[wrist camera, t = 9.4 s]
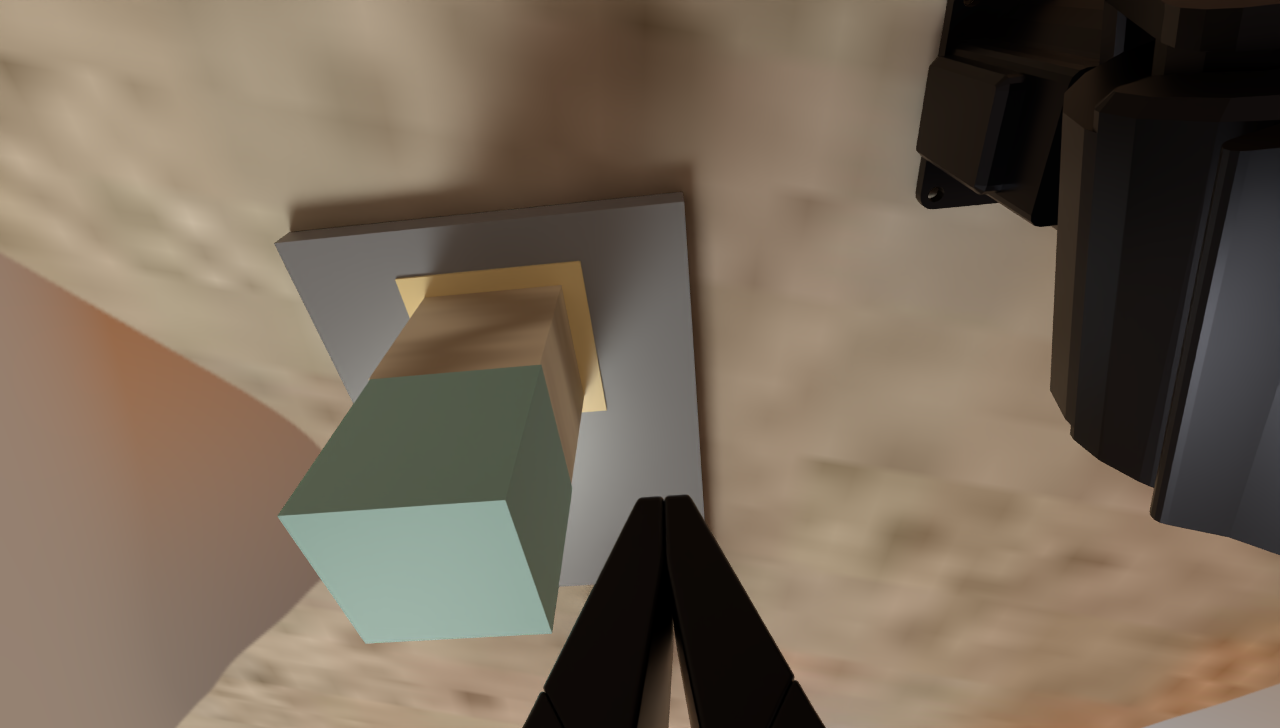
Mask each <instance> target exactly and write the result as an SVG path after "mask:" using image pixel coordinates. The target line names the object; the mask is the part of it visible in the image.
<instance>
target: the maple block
mask: <svg viewBox="0 0 1280 728" xmlns="http://www.w3.org/2000/svg"><path fill="white" fill-rule="evenodd" d="M530 365H542V369H543V373H544V377H545V381H546V385H547V389H548V393H549V397H550V401H551V405H552V409H553V413H554V417H555V421H556V425H557V429H558V433H559V437H560V441H561V445H562V449H563V453H564V457H565V461H566V465H567V469H568V473H569V477H570V481H571V484H572V477H573V470H574V463H575V456H576V449H577V442H578V436H579V429H580V422H581V415H582V408H583V401H584V393H583V388H582V384H581V379H580V374H579V369H578V364H577V359H576V354H575V349H574V344H573V339H572V334H571V330H570V325H569V320H568V315H567V310H566V305H565V300H564V295H563V290H562V285H555V286H544V287H533V288H523V289H512V290H501V291H490V292H480V293H469V294H458V295H448V296H437V297H426V298H424V299H423V300H422V302H421V303H420V305H419V306H418V308H417V309H416V310H415V312H414V313H413V315H412V316H411V318H410V319H409V321H408V322H407V324H406V325H405V327H404V328H403V329H402V331H401V332H400V334H399V335H398V337H397V338H396V340H395V341H394V343H393V344H392V346H391V347H390V349H389V350H388V351H387V353H386V354H385V356H384V357H383V359H382V360H381V362H380V363H379V365H378V366H377V368H376V369H375V370H374V372H373V373H372V375H371V376H370V378H369V379H368V380H370V379H380V378H392V377H403V376H415V375H426V374H438V373H449V372H461V371H472V370H484V369H496V368H507V367H519V366H530Z"/></svg>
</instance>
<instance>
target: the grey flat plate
mask: <svg viewBox="0 0 1280 728" xmlns="http://www.w3.org/2000/svg"><path fill="white" fill-rule="evenodd" d="M274 244H275V246H276V248H277V250H278V252H279V254H280V256H281V258H282V260H283V262H284V264H285V266H286V268H287V270H288V272H289V274H290V277H291V279H292V281H293V283H294V285H295V287H296V289H297V291H298V293H299V295H300V297H301V299H302V301H303V303H304V305H305V307H306V309H307V311H308V313H309V315H310V317H311V319H312V321H313V323H314V325H315V327H316V329H317V331H318V333H319V335H320V337H321V339H322V341H323V343H324V345H325V347H326V349H327V351H328V353H329V355H330V357H331V359H332V361H333V363H334V365H335V367H336V369H337V371H338V374H339V376H340V378H341V380H342V382H343V384H344V386H345V388H346V390H347V392H348V394H349V396H350V398H351V400H352V402H353V404H354V402H355V401H356V399H357V398H358V397H359V395H360V394H361V392H362V391H363V389H364V388H365V386H366V385H367V383H368V382H369V380H368V379H369V378H370V376H371V375H372V373H373V372H374V370H375V369H376V368H377V366H378V365H379V363H380V362H381V360H382V359H383V357H384V356H385V354H386V353H387V351H388V350H389V349H390V347H391V346H392V344H393V343H394V341H395V340H396V338H397V337H398V335H399V334H400V332H401V331H402V329H403V328H404V327H405V325H406V324H407V322H408V321H409V319H410V318H411V316H412V315H413V313H414V312H415V310H416V309H417V308H418V306H419V305H420V303H421V302H422V300H423V299H424V298H426V297H437V296H448V295H458V294H469V293H480V292H490V291H501V290H512V289H523V288H533V287H544V286H555V285H562V290H563V295H564V300H565V305H566V310H567V315H568V320H569V325H570V330H571V334H572V339H573V344H574V349H575V354H576V359H577V364H578V369H579V374H580V379H581V384H582V388H583V393H584V401H583V408H582V415H581V422H580V429H579V436H578V442H577V449H576V456H575V463H574V470H573V477H572V484H571V485H572V496H571V503H570V510H569V517H568V524H567V531H566V538H565V545H564V553H563V560H562V567H561V574H560V581H559V587H560V586H577V585H594V584H595V583H596V581H597V579H598V577H599V575H600V573H601V571H602V569H603V567H604V565H605V563H606V561H607V559H608V557H609V555H610V553H611V551H612V549H613V547H614V545H615V543H616V541H617V539H618V537H619V535H620V533H621V531H622V529H623V527H624V525H625V523H626V521H627V519H628V517H629V515H630V513H631V511H632V509H633V507H634V505H635V503H636V501H637V500H638V499H639V498H641V497H653V496H661V497H662V498H663V499H665V497H666V496H668V495H682V494H687V495H689V496H690V497H691V498H692V500H693V501H694V503H695V505H696V506H697V508H698V510H699V512H700V513H701V515H702V517H703V519H704V504H703V489H702V473H701V457H700V442H699V426H698V410H697V395H696V379H695V363H694V348H693V332H692V317H691V301H690V285H689V270H688V254H687V238H686V223H685V207H684V198H683V192H676V193H666V194H657V195H647V196H637V197H628V198H618V199H608V200H598V201H589V202H579V203H569V204H560V205H550V206H540V207H530V208H521V209H511V210H501V211H492V212H482V213H472V214H462V215H453V216H443V217H433V218H424V219H414V220H404V221H394V222H385V223H375V224H365V225H356V226H346V227H336V228H326V229H317V230H307V231H297V232H289V233H288V234H286V235H285V236H283V237H282V238H281V239H279V240H278V241H277V242H275V243H274Z"/></svg>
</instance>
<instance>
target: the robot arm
mask: <svg viewBox="0 0 1280 728" xmlns="http://www.w3.org/2000/svg"><path fill="white" fill-rule="evenodd" d="M916 150H917V152H918V153H919V154H920V155H921V156H922V157H921V163H920V169H919V175H918V181H917V187H916V199H917V200H918V202H919V203H920V204H921V205H923V206H924V207H926V208H927V209H940V208H951V207H961V206H971V205H981V204H991V203H1000V204H1002V205H1003V206H1005V207H1006V208H1008V209H1009V210H1011V211H1013V212H1014V213H1016V214H1017V215H1019V216H1020V217H1022V218H1023V219H1025V220H1026V221H1028V222H1029V223H1031V224H1033V225H1034V226H1039V227H1044V226H1052V227H1053V228H1055V229H1056V230H1057V249H1056V271H1055V293H1054V315H1053V337H1052V359H1051V381H1050V391H1051V393H1052V395H1053V397H1054V398H1055V400H1056V402H1057V404H1058V406H1059V408H1060V410H1061V412H1062V414H1063V416H1064V418H1065V419H1066V420H1067V421H1068V422H1069V423H1070V425H1071V430H1070V435H1071V436H1072V438H1073V439H1074V440H1075V441H1076V442H1077V443H1078V444H1080V445H1081V446H1082V447H1083V448H1085V449H1086V450H1087V451H1088V452H1090V453H1091V454H1092V455H1093V456H1095V457H1096V458H1097V459H1098V460H1100V461H1102V462H1103V463H1105V464H1107V465H1109V466H1111V467H1113V468H1115V469H1116V470H1118V471H1120V472H1122V473H1124V474H1126V475H1127V476H1129V477H1131V478H1133V479H1135V480H1137V481H1139V482H1141V483H1143V484H1146V485H1148V486H1150V487H1153V488H1154V491H1153V496H1152V502H1151V507H1150V515H1151V517H1152V518H1153V519H1154V520H1156V521H1158V522H1160V523H1163V524H1167V525H1172V526H1177V527H1182V528H1186V529H1191V530H1196V531H1201V532H1206V533H1211V534H1216V535H1220V536H1225V537H1230V538H1233V539H1235V540H1238V541H1241V542H1244V543H1247V544H1250V545H1252V546H1255V547H1258V548H1261V549H1264V550H1267V551H1270V552H1272V553H1275V554H1278V555H1280V0H973V1H972V3H971V4H970V5H968V6H965V4H964V2H963V0H947V6H946V12H945V19H944V25H943V31H942V37H941V43H940V49H939V55H938V57H937V58H936V59H935V60H934V61H933V63H932V64H931V65H930V66H929V71H928V77H927V83H926V90H925V96H924V102H923V109H922V115H921V121H920V127H919V134H918V140H917V146H916ZM935 187H939V191H938V193H937V194H936V195H935V196H934V197H932V198H928V194H929V192H930V190H932V189H933V188H935ZM673 624H674V632H675V639H676V645H677V652H678V657H679V663H680V669H681V674H682V680H683V686H684V691H685V697H686V702H687V708H688V714H689V719H690V725H691V728H826V727H825V726H824V724H823V723H822V721H821V719H820V718H819V716H818V714H817V713H816V711H815V710H814V708H813V706H812V705H811V703H810V701H809V699H808V698H807V696H806V694H805V693H804V691H803V689H802V687H801V686H800V684H799V682H798V681H796V680H794V674H793V672H792V671H791V669H790V667H789V665H788V664H787V662H786V660H785V659H784V657H783V655H782V653H781V652H780V650H779V648H778V646H777V645H776V643H775V641H774V640H773V638H772V636H771V634H770V633H769V631H768V629H767V627H766V626H765V624H764V622H763V621H762V619H761V617H760V615H759V614H758V612H757V610H756V608H755V607H754V605H753V603H752V602H751V600H750V598H749V596H748V595H747V593H746V591H745V589H744V588H743V586H742V584H741V583H740V581H739V579H738V577H737V576H736V574H735V572H734V570H733V569H732V567H731V565H730V563H729V562H728V560H727V558H726V557H725V555H724V553H723V551H722V550H721V548H720V546H719V544H718V543H717V541H716V539H715V538H714V536H713V534H712V532H711V531H710V529H709V527H708V525H707V524H706V522H705V520H704V519H703V517H702V515H701V513H700V512H699V510H698V508H697V506H696V505H695V503H694V501H693V500H692V498H691V497H690V496H689V495H687V494H682V495H668V496H666V497H665V499H663V498H662V497H661V496H653V497H641V498H639V499H638V500H637V501H636V503H635V505H634V507H633V509H632V511H631V513H630V515H629V517H628V519H627V521H626V523H625V525H624V527H623V529H622V531H621V533H620V535H619V537H618V539H617V541H616V543H615V545H614V547H613V549H612V551H611V553H610V555H609V557H608V559H607V561H606V563H605V565H604V567H603V569H602V571H601V573H600V575H599V577H598V579H597V581H596V583H595V585H594V587H593V589H592V591H591V593H590V595H589V597H588V599H587V601H586V603H585V605H584V607H583V609H582V611H581V613H580V615H579V617H578V619H577V621H576V623H575V625H574V627H573V629H572V631H571V633H570V635H569V637H568V639H567V641H566V643H565V645H564V647H563V649H562V651H561V653H560V655H559V657H558V659H557V661H556V663H555V665H554V667H553V669H552V671H551V673H550V675H549V677H548V679H547V681H546V683H545V685H544V687H543V689H544V692H541V693H540V694H539V696H538V698H537V700H536V702H535V704H534V706H533V708H532V710H531V712H530V714H529V716H528V718H527V720H526V722H525V724H524V726H523V727H522V728H668V727H669V710H670V693H671V676H672V660H673V636H674V632H673Z"/></svg>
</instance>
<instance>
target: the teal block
mask: <svg viewBox="0 0 1280 728" xmlns="http://www.w3.org/2000/svg"><path fill="white" fill-rule="evenodd" d="M571 496H572V485H571V481H570V477H569V473H568V469H567V465H566V461H565V457H564V453H563V449H562V445H561V441H560V437H559V433H558V429H557V425H556V421H555V417H554V413H553V409H552V405H551V401H550V397H549V393H548V389H547V385H546V381H545V377H544V373H543V369H542V365H530V366H519V367H507V368H496V369H484V370H472V371H461V372H449V373H438V374H426V375H415V376H403V377H392V378H380V379H370V380H369V382H368V383H367V385H366V386H365V388H364V389H363V391H362V392H361V394H360V395H359V397H358V398H357V399H356V401H355V402H354V404H353V405H352V407H351V408H350V410H349V411H348V413H347V414H346V416H345V417H344V419H343V420H342V422H341V423H340V425H339V426H338V427H337V429H336V430H335V432H334V433H333V435H332V436H331V438H330V439H329V441H328V442H327V444H326V445H325V447H324V448H323V450H322V451H321V453H320V454H319V455H318V457H317V458H316V460H315V462H314V463H313V464H312V466H311V467H310V469H309V470H308V472H307V473H306V475H305V476H304V478H303V479H302V481H301V482H300V483H299V485H298V487H297V488H296V489H295V491H294V492H293V494H292V495H291V497H290V498H289V500H288V501H287V503H286V504H285V506H284V507H283V508H282V510H281V511H280V513H279V515H278V518H279V519H280V521H281V522H282V523H283V525H284V526H285V528H286V529H287V531H288V532H289V534H290V535H291V536H292V538H293V539H294V541H295V542H296V544H297V545H298V547H299V548H300V550H301V551H302V552H303V554H304V555H305V557H306V558H307V560H308V561H309V562H310V564H311V565H312V567H313V568H314V570H315V571H316V573H317V574H318V576H319V577H320V578H321V580H322V581H323V583H324V584H325V586H326V587H327V589H328V590H329V591H330V593H331V594H332V596H333V597H334V599H335V600H336V602H337V603H338V605H339V606H340V607H341V609H342V610H343V612H344V613H345V615H346V616H347V618H348V619H349V620H350V622H351V623H352V625H353V626H354V628H355V629H356V631H357V632H358V633H359V635H360V636H361V638H362V639H363V641H364V642H365V643H384V642H403V641H421V640H440V639H459V638H477V637H496V636H514V635H533V634H552V630H553V623H554V616H555V609H556V602H557V595H558V588H559V581H560V574H561V567H562V560H563V553H564V545H565V538H566V531H567V524H568V517H569V510H570V503H571Z"/></svg>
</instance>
